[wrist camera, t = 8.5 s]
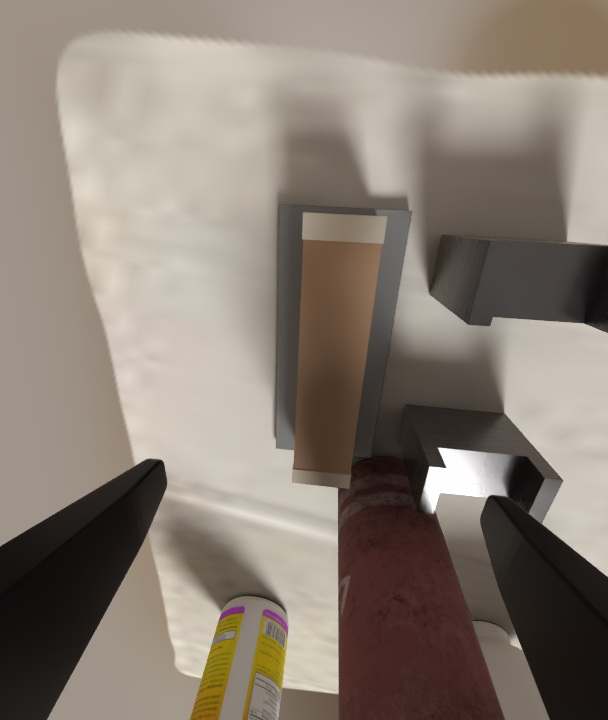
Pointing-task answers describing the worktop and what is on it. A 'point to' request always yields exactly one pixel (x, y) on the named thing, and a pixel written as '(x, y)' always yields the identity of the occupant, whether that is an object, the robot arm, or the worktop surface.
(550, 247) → the post
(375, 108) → the worktop surface
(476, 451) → the post
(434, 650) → the can
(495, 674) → the teacup
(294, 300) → the mat
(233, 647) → the supplement bottle
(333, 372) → the rail
